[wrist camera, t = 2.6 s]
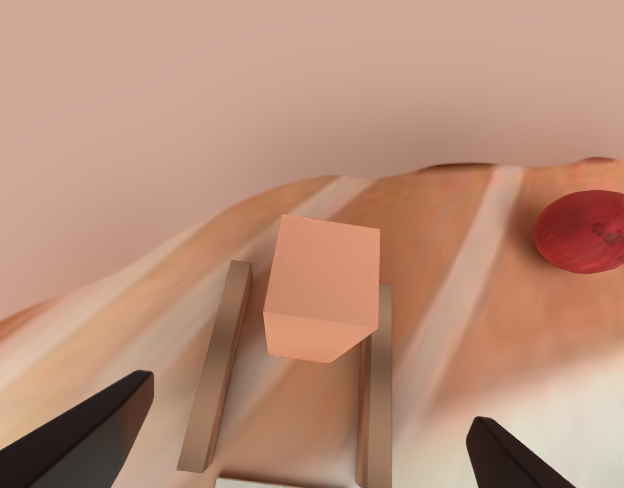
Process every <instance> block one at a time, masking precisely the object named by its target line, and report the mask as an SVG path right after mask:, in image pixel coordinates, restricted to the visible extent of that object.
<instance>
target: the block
mask: <svg viewBox="0 0 624 488" xmlns="http://www.w3.org/2000/svg"><path fill="white" fill-rule="evenodd" d="M379 259H380V229H375V228H369V227H362V226H356V225H350V224H344V223H337V222H331V221H325V220H319V219H313V218H306V217H300V216H294V215H288V214H282V217H281V222H280V227H279V232H278V237H277V242H276V248H275V253H274V258H273V263H272V268H271V273H270V278H269V283H268V289H267V294H266V299H265V304H264V309H263V316H264V325H265V333H266V342H267V350H268V355H273V356H280V357H287V358H294V359H301V360H308V361H315V362H323V363H331V362H333V361H334V360H335V359H337V358H338V357H340V356H341V355H342V354H344V353H345V352H346V351H348V350H349V349H351V348H352V347H353V346H355V345H356V344H357V343H359V342H360V341H362V340H363V339H364V338H366V337H367V336H368V335H370V334H371V333H373V332H374V331H375V330H377V329H378V308H379Z"/></svg>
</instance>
